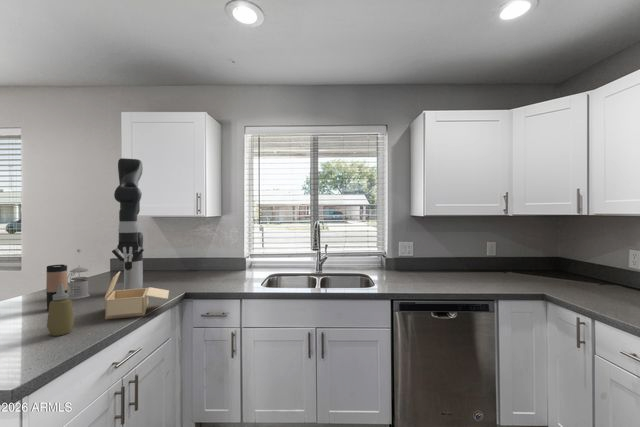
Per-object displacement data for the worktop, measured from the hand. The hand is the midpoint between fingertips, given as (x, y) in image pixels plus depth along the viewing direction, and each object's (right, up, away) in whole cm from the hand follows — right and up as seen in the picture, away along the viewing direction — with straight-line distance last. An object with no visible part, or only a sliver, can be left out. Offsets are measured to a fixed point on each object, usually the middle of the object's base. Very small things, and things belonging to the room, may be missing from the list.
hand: (128, 270), depth 152 cm
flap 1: (-7, -10, -3) cm, 13 cm away
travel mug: (-35, -19, +4) cm, 40 cm away
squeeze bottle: (-9, -19, -27) cm, 35 cm away
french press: (-43, -19, +28) cm, 54 cm away
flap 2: (+7, -10, +3) cm, 13 cm away
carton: (0, -19, 0) cm, 19 cm away
